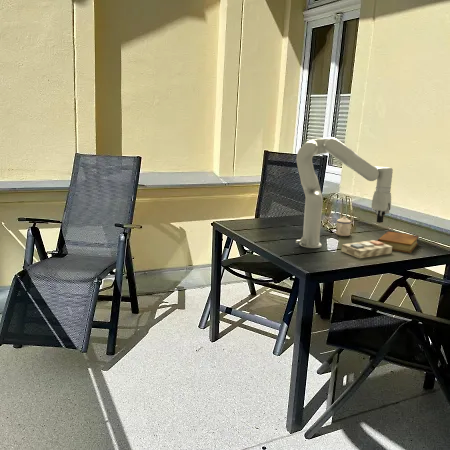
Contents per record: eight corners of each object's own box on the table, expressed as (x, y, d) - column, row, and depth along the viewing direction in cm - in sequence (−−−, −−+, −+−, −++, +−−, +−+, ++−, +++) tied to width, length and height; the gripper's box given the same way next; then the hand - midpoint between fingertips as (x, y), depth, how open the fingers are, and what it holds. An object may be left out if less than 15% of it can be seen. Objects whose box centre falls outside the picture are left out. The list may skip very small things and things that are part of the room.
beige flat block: (359, 258, 235) (360, 251, 234) (341, 251, 247) (342, 244, 246) (391, 253, 246) (392, 246, 245) (372, 246, 258) (373, 240, 257)
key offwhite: (366, 249, 243) (367, 245, 242) (360, 247, 247) (360, 242, 247) (373, 248, 245) (374, 244, 245) (366, 246, 250) (367, 242, 249)
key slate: (356, 251, 240) (357, 246, 239) (350, 248, 244) (350, 244, 243) (363, 250, 242) (364, 245, 241) (356, 247, 246) (357, 243, 245)
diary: (385, 239, 277) (386, 231, 275) (417, 245, 267) (418, 235, 266) (376, 247, 258) (377, 238, 256) (410, 253, 248) (411, 243, 247)
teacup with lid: (337, 231, 291) (339, 214, 288) (351, 234, 286) (353, 216, 283) (332, 235, 280) (333, 217, 278) (346, 237, 276) (348, 219, 273)
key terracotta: (376, 248, 246) (377, 243, 246) (370, 245, 251) (370, 241, 250) (383, 247, 249) (383, 242, 248) (376, 244, 253) (377, 240, 252)
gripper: (368, 188, 247) (364, 220, 251) (389, 192, 234) (385, 225, 238) (377, 187, 250) (374, 219, 254) (399, 191, 237) (395, 224, 242)
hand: (379, 222), depth 246 cm, fingers closed
